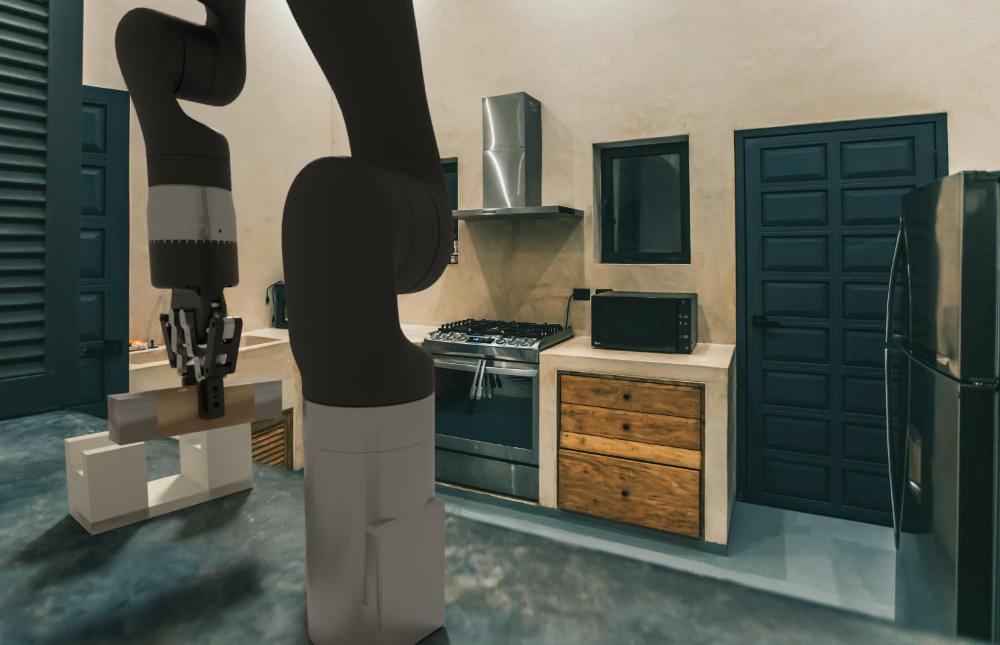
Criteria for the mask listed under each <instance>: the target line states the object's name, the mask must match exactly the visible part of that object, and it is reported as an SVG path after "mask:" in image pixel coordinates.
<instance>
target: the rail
mask: <svg viewBox="0 0 1000 645" xmlns="http://www.w3.org/2000/svg"><path fill="white" fill-rule="evenodd" d="M223 382H224V401H225V414H224V416H223V417H221V418H216V419H211V420H203V419H201V418H200V417H199V412H198V394H197V385H193V386H183V387H182V386H176V387H175V386H174V387H168V388H167V387H166V388H161V389H159V388H158V389H151V390H141V391H135V392H134V391H133V392H125V393H117V394H109V395H107V419H108V421H107V423H108V431H109V440H111V441H113V442H114V443H116V444H118V445H120V446H121V445H127V444H133V443H138V442H144V443H145V442H150V441H154V440H159V439H166V438H171V437H176V436H178V437H179V435H183V434H189V433H195V432H200V431H206V430H211V429H217V428H223V427H228V426H234V425H239V424H245V423H251V424H252V423H255V422H261V421H267V420H272V419H278V418H283V380H282V379H280V378H276V377H270V376H262V377H261V376H260V377H254V378H253V377H252V378H245V379H237V380H228V381H223Z"/></svg>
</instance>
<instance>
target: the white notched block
mask: <svg viewBox="0 0 1000 645" xmlns="http://www.w3.org/2000/svg"><path fill="white" fill-rule="evenodd" d="M251 426H252V422H251V423H245V424H239V425H234V426H228V427H223V428H217V429H211V430H206V431H200V432H195V433H189V434H183V435H178V445H179V458H180V459H179V461H180V473H178V474H173V475H171V476H165V477H162V478H158V479H154V480H151V481H148V470H147V468H148V467H147V453H146V452H147V451H146V449H147V448H146V442H145V441H144V442H138V443H133V444H127V445H121V446H120V445H118V444H116V443H114V442H113V441H111V440H109V430H106V431H100V432H95V433H90V434H86V435H85V434H84V435H80V436H74V437H69V438H64V440H63V441H64V450H65V451H64V453H65V454H64V456H65V466H66V470H65V471H66V482H67V483H66V484H67V497H68V509H69V510H68V511H69V515H71V517H73V519H75V521H76V522H78V523H79V524H80V525H81V526H82V527H83V529H85V530H86V531H87V532H88V533H89V534H90V536H95V535H98V534H102V533H105V532H108V531H113V530H115V529H118V528H122V527H125V526H128V525H132V524H135V523H138V522H142V521H145V520H148V519H152V518H156V517H159V516H162V515H165V514H169V513H171V512H175V511H179V510H182V509H185V508H189V507H192V506H195V505H199V504H201V503H205V502H208V501H212V500H216V499H218V498H222V497H225V496H228V495H232V494H235V493H238V492H242V491H245V490H249V489H252V488H254V482H253V481H254V479H253V454H252V453H253V452H252V447H253V446H252V427H251Z"/></svg>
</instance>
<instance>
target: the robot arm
mask: <svg viewBox="0 0 1000 645" xmlns="http://www.w3.org/2000/svg"><path fill="white" fill-rule="evenodd" d="M196 1H197V2H198V3H201V4H202V5H203V6H204V9H205V13H206V19H205V23H204V24H202V23H198V22H196V21H192V20H190V19H186V18H183V17H179V16H176V15H172V14H170V13H167V12H164V11H160V10H157V9H154V8H149V7H139V6H138V7H134V8H132V9H131V10H129V11H127V12H126V13H125V14H124V15H122V17H121V18H120V19H119V21H118V24H117V27H116V30H115V32H114V33H115V35H114V49H115V50H114V51H115V56H116V60H117V64H118V67H119V70H120V73H121V76H122V78H123V81H124V85H125V86H126V89H127V92H128V94H129V97H130V98H131V99H130V100H131V102H132V105H133V106H134V109H135V113H136V116H137V121H138V124H139V127H140V129H141V130H140V131H141V133H142V136H143V137H142V138H143V142H144V147H145V157H146V160H145V161H146V173H147V187H148V188H147V204H146V226H147V240H148V241H147V242H148V256H149V257H148V258H149V272H150V273H149V274H150V284H151V286H152V287H153V288H155V289H157V290H158V289H159V290H171V298H170V299H171V300H170V308H169V311H168V312H161V313H159V318H158V320H159V323H160V327H161V332H162V336H163V339H164V340H163V341H164V345H165V349H166V354H167V358H168V362H169V366H170V368H171V369H176V373H177V376H178V377H181V387H183V386H193V385H197V394H198V412H199V417H200V418H201V419H203V420H211V419H216V418H221V417H223V416H224V414H225V401H224V382H225V381H224V379H226V378H227V377H228V375H233V374H235V373H236V371H237V370H236V368H237V362H238V358H239V351H240V345H241V339H242V333H243V326H244V322H243V317H242V316H240V315H235V316H234V315H233V316H230V315H229V314H228V305H227V301H226V297H225V293H224V290H225V289H227V288H229V289H230V288H236V287H237V286H238V285H239V283H240V271H239V268H240V267H239V250H238V249H239V248H238V235H237V234H238V231H237V230H238V229H237V216H236V210H235V204H234V200H233V199H234V198H233V188H232V187H233V184H232V168H231V167H232V166H231V151H230V149H231V148H230V146H229V141H228V139H227V137H226V135H224V133H223V132H221V131H220V130H218V129H216V128H214V127H211V126H210V125H207V124H205V123H203V122H201V121H198V120H196V119H194V118H193V117H191V116H190V115H188V113H186V112H185V111H184V109H183V108H182V107H181V105H180V103H179V101H178V100H181V101H186V102H191V103H196V104H201V105H206V106H209V107H217V108H218V107H219V108H220V107H221V108H222V107H226V106H228V105H230V104H232V103H233V102H235V101H236V100H237V99H238V98H239V96H240V95H241V93H242V92H243V90H244V88H245V85H246V81H247V80H246V79H247V67H248V66H247V50H246V10H247V9H246V4H247V0H196ZM285 3H286V4H287V7H288V9H289V11H290V14H291V15H292V17H293V19H294V21H295V23H296V25H297V27H298V29H299V31H300V32H301V35H302V36H303V39H304V41H305V42H306V45H307V46H308V47H309V50H310V51H311V53H312V55H313V57H314V59H315V60H316V62H317V65H318V67H320V70H321V71H322V73H323V75H324V77H325V79H326V81H327V83H328V85H329V86H330V89H331V91H332V93H333V94H334V97H335V99H336V101H337V104H338V106H339V109H340V111H341V114H342V118H343V121H344V125H345V131H346V133H347V139H348V144H349V150H350V156H348V155H344V154H343V155H342V154H333V155H332V154H331V155H324V156H321V157H318V158H315V159H314V160H312V161H310V162H308V163H307V164H306V165H305V166H303V168H302V169H301V170H299V172H298V173H297V174H296V176H295V177H294V179H293V181H292V182H291V184H290V186H289V189H288V191H287V194H286V198H285V201H284V205H283V212H282V217H281V218H282V219H281V228H280V229H281V239H280V240H281V259H282V260H281V261H282V270H283V281H284V291H285V293H284V295H285V305H286V307H285V308H286V315H287V316H286V319H287V330H288V331H287V332H288V339H289V346H290V350H291V353H292V357H293V359H294V362H295V364H296V366H297V369H298V371H299V375H300V379H301V380H300V382H301V406H302V405H303V440H302V446H303V447H302V448H303V449H302V450H303V451H302V452H303V488H304V490H303V492H304V530H305V532H304V533H305V535H304V536H305V537H304V538H305V539H304V540H305V569H306V570H305V571H306V572H305V576H306V577H305V578H306V579H305V580H306V601H307V602H306V605H307V606H306V607H307V610H306V611H307V632H308V635H309V640H310V641H311V642H312V644H313V645H416V644H417V643H418V642H420V641H422V640H423V639H424V638H427V637H428V636H430V635H431V634H432V633H434V632H435V631H437V630H439V629H440V628H441V627H443V626H444V625H445V623H446V622H445V621H446V612H445V611H446V601H445V600H446V599H445V598H446V597H445V596H446V592H445V591H446V589H445V588H446V585H445V584H446V579H445V578H446V575H445V574H446V573H445V572H446V568H445V567H446V560H445V559H446V554H445V553H446V549H445V548H446V546H445V544H446V543H445V542H446V539H445V538H446V533H445V532H446V522H445V521H446V517H445V516H446V514H445V513H446V510H445V509H446V504H445V501H444V500H443V499H441V498H439V497H436V495H435V494H436V491H435V489H436V487H435V486H436V484H435V483H436V476H435V475H436V473H435V471H436V470H435V469H436V467H435V464H436V463H435V462H436V460H435V459H436V458H435V457H436V456H435V454H436V452H435V451H436V449H435V448H436V446H435V445H436V441H435V440H436V438H435V434H436V433H435V431H436V424H435V423H436V418H435V417H436V410H435V409H436V407H435V406H436V404H435V403H436V398H435V397H436V396H435V394H436V393H435V390H436V367H435V365H436V364H435V358H434V357H433V355H432V353H431V352H430V351H429V350H428V349H427V348H425V347H423V346H421V345H418V344H415V343H413V342H411V341H410V339H408V337H407V336H406V334H405V333H404V332H403V329H402V326H401V322H400V314H399V312H400V311H399V302H398V300H399V299H398V295H399V296H401V295H411V294H416V293H419V292H422V291H424V290H427V289H428V288H430V287H432V286H433V285H435V284H436V282H438V281H439V280H440V278H441V277H442V276H443V274H444V272H445V271H446V269H447V267H448V265H449V263H450V260H451V256H452V252H453V247H454V241H455V225H454V224H455V222H454V213H453V208H452V204H451V196H450V193H449V187H448V185H447V180H446V176H445V172H444V168H443V163H442V159H441V155H440V151H439V146H438V143H437V139H436V133H435V129H434V125H433V121H432V117H431V111H430V107H429V103H428V96H427V91H426V85H425V78H424V70H423V62H422V61H423V60H422V54H421V47H420V42H419V41H420V40H419V35H418V28H417V21H416V14H415V8H414V0H285Z"/></svg>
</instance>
